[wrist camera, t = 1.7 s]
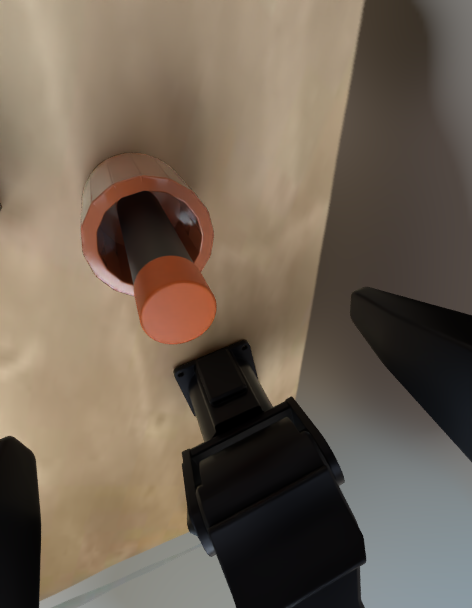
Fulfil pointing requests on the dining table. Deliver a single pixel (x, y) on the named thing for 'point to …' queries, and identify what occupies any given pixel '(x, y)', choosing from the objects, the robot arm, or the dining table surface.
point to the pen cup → (105, 223)
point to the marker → (163, 273)
